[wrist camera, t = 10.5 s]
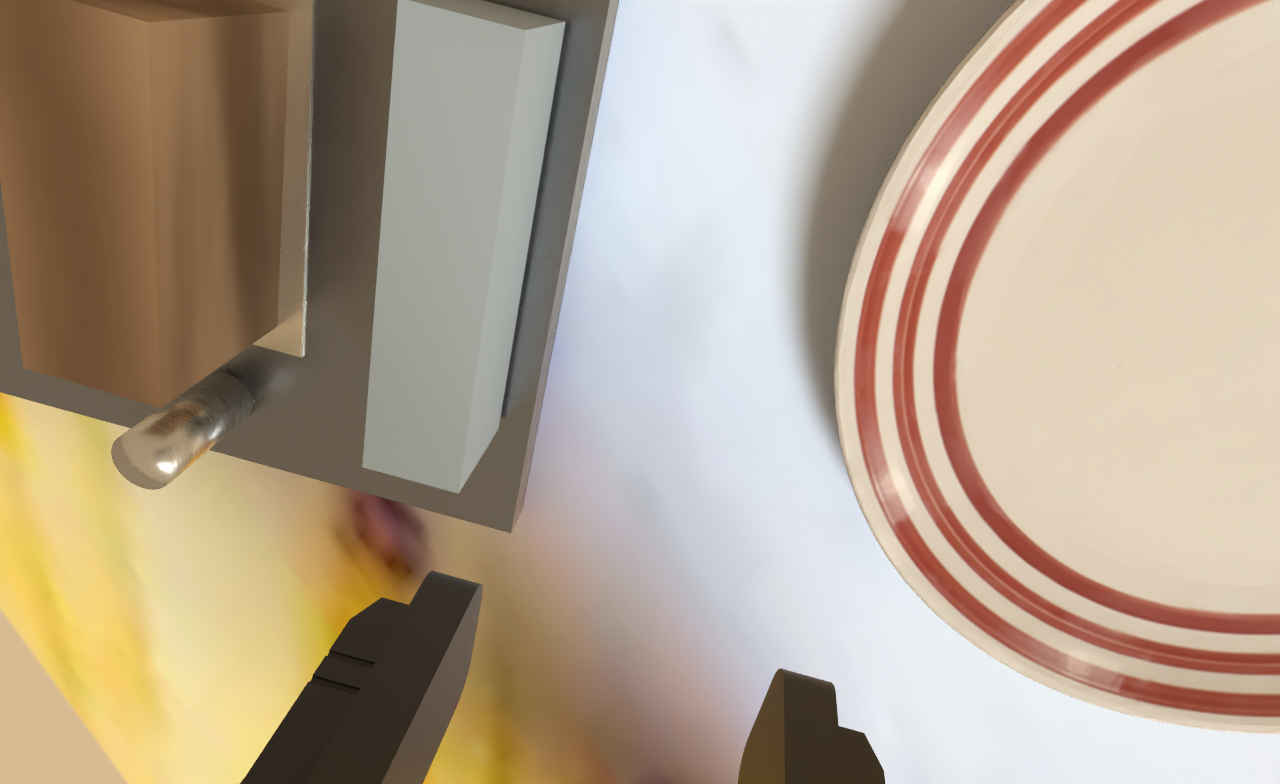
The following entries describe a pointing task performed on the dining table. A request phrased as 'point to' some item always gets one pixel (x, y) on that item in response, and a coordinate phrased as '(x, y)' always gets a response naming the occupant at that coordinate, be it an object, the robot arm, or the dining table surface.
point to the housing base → (353, 281)
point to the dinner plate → (1085, 355)
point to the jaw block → (142, 185)
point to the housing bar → (454, 230)
